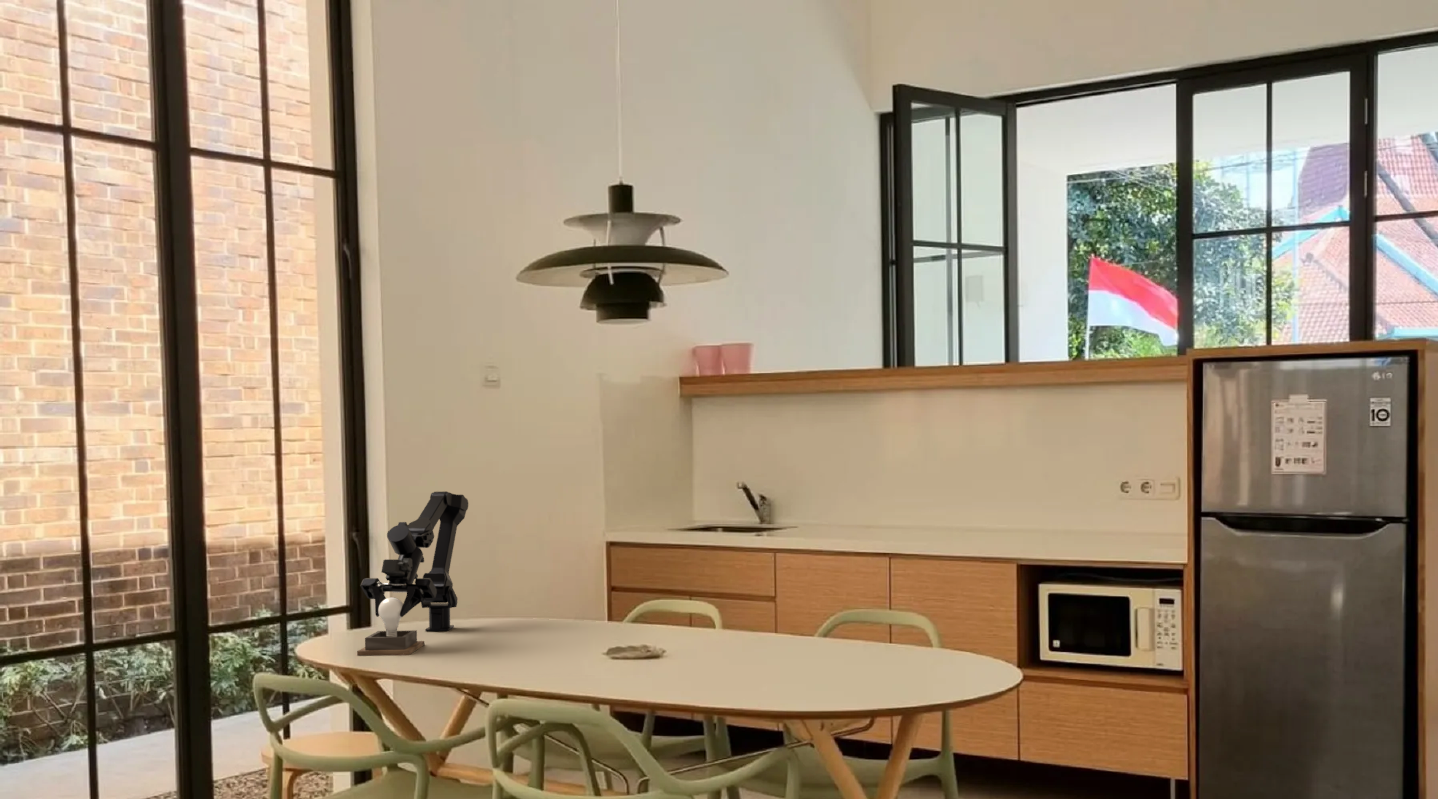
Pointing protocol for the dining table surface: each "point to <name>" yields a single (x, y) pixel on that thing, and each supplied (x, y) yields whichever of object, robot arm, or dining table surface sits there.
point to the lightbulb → (390, 615)
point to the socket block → (391, 644)
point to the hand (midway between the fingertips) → (388, 615)
